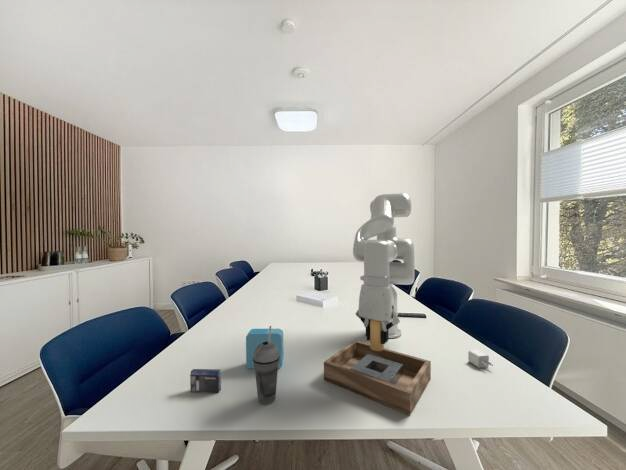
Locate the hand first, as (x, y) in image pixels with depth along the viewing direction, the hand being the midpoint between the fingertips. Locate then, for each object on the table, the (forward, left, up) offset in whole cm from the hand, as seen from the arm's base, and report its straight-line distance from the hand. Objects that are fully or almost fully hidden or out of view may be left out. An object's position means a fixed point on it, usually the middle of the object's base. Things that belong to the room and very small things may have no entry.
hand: (376, 340), depth 80 cm
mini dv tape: (+35, -37, -12) cm, 52 cm away
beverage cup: (+27, -20, -12) cm, 36 cm away
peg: (0, 0, -2) cm, 2 cm away
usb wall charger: (-29, +24, -12) cm, 40 cm away
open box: (0, 0, -12) cm, 12 cm away
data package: (+15, -34, -12) cm, 39 cm away
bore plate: (0, 0, -12) cm, 12 cm away
